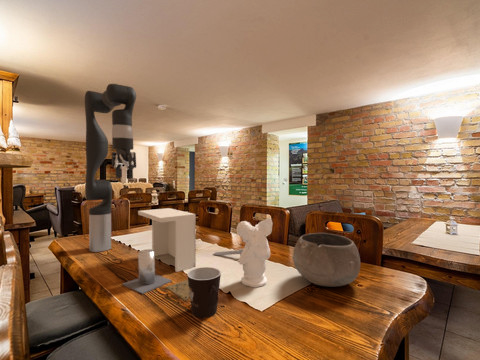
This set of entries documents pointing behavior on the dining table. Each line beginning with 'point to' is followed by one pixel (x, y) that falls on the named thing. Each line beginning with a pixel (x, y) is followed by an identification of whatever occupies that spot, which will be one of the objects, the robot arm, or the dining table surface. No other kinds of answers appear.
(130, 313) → the dining table surface
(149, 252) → the pale cylinder
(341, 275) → the clay pot
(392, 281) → the dining table surface
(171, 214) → the white c-shaped side table
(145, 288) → the rubber mat
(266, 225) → the cherub figurine
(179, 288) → the cookie
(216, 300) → the coffee mug
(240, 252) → the caliper
